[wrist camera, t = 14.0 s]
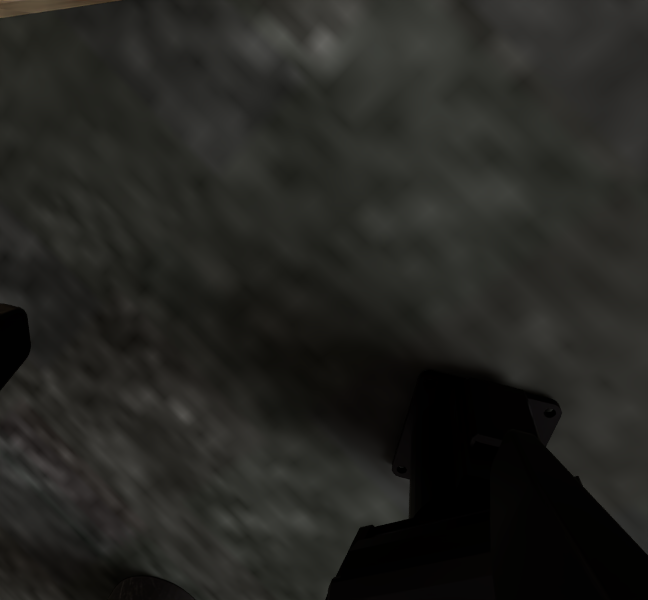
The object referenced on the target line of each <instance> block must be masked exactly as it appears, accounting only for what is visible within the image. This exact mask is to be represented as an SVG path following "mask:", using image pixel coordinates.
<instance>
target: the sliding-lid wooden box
mask: <svg viewBox="0 0 648 600" xmlns="http://www.w3.org/2000/svg"><path fill="white" fill-rule="evenodd" d="M113 1H120V0H0V18H5V17H12V16H18V15H25V14H32V13H39V12H45V11H52V10H59V9H66V8H72V7H79V6H86V5H93V4H100V3H106V2H113Z"/></svg>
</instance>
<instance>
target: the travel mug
mask: <svg viewBox="0 0 648 600" xmlns="http://www.w3.org/2000/svg"><path fill="white" fill-rule="evenodd" d="M107 600H195V599H194V598H193V597H192V596H190V595H189V594H188V593H187V592H185V591H184V590H183V589H181V588H179V587H178V586H176V585H174V584H172V583H169V582H167V581H164V580H161V579H158V578H154V577H147V576H135V577H130V578H127V579H125V580H123V581H121V582H120V583H119V584H118V585H117V586H116V587H115V589H114V590H113V592H112V593H111V595H110V596H109V598H108V599H107Z"/></svg>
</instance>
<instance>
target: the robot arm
mask: <svg viewBox="0 0 648 600" xmlns="http://www.w3.org/2000/svg"><path fill="white" fill-rule="evenodd" d="M30 349H31V341H30V333H29V326H28V318H27V314H26V312H25V311H24V310H23V309H22V308H20V307H16V306H12V305H8V304H0V390H1V389H2V388H3V387H4V386H5V384H6V383H7V382H8V381H9V379H10V378H11V377H12V376H13V375H14V373H15V372H16V371H17V370H18V368H19V367H20V366H21V365H22V364H23V362H24V361H25V360H26V358H27V357H28V355H29V353H30ZM428 379H431V380H433V381H434V382H433V383H431V384H430V383H426V382H425V380H428ZM547 409H553V410H552V411H551V412H545V410H547ZM561 414H562V411H561V408H560V406H559V404H558V403H557V402H556V401H555V400H553V399H549V398H545V397H541V396H537V395H532V394H528V393H525V392H524V391H523V390H520V389H516V388H511V387H507V386H503V385H499V384H495V383H491V382H487V381H482V380H478V379H474V378H468V379H466V378H462V377H458V376H454V375H449V374H445V373H441V372H437V371H433V370H426V371H423V372H422V373H421V374H420V376H419V378H418V381H417V384H416V388H415V391H414V394H413V397H412V401H411V404H410V407H409V410H408V414H407V417H406V420H405V423H404V426H403V430H402V433H401V436H400V439H399V443H398V446H397V449H396V452H395V455H394V459H393V462H392V471H393V473H394V474H395V475H396V476H399V477H402V478H406V479H410V493H409V519H406V520H402V521H398V522H393V523H389V524H385V525H381V526H376V527H374V526H373V525H369V526H364V527H360V528H359V530H358V532H357V534H356V536H355V538H354V540H353V543H352V545H351V547H350V549H349V551H348V553H347V555H346V557H345V559H344V561H343V563H342V565H341V567H340V569H339V571H338V573H337V575H336V577H334V578H333V579H332V581H331V583H330V585H329V588H328V594H327V597H326V600H648V555H647V554H646V553H645V552H644V551H643V550H642V548H641V547H640V546H639V545H638V544H637V543H636V542H635V541H634V540H633V539H632V538H631V537H630V536H629V535H628V534H627V533H626V532H625V530H624V529H623V528H622V527H621V526H620V525H619V524H618V523H617V522H616V521H615V520H614V519H613V518H612V517H611V516H610V515H609V513H608V512H607V511H606V510H605V509H604V508H603V507H602V506H601V505H600V504H599V503H598V502H597V501H596V500H595V499H594V498H593V497H592V495H591V494H590V493H589V492H588V491H587V490H586V489H585V488H584V487H583V485H582V483H581V481H580V478H579V476H576V477H574V476H573V475H572V474H571V473H570V472H569V471H568V470H567V469H566V468H565V467H564V466H563V465H562V464H561V463H560V462H559V460H558V459H557V458H556V457H555V456H554V455H553V454H552V453H551V452H550V451H549V450H548V449H547V448H546V445H547V443H548V441H549V439H550V437H551V435H552V433H553V431H554V429H555V427H556V425H557V423H558V421H559V419H560V417H561ZM399 466H404V467H405V468H400V467H399Z"/></svg>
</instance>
